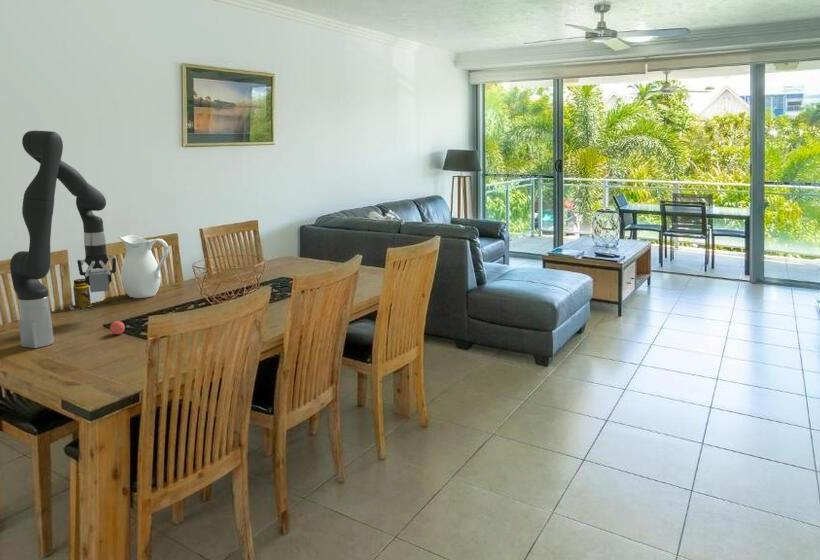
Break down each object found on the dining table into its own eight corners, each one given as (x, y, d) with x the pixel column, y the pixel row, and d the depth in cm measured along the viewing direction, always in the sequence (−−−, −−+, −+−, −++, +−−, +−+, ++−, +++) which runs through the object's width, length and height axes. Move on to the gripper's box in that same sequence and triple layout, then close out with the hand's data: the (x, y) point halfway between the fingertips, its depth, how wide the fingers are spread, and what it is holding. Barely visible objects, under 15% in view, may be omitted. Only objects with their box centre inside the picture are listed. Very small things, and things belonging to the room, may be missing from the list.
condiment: (92, 307, 270) (90, 280, 267) (70, 310, 265) (67, 282, 263) (90, 303, 276) (87, 277, 273) (69, 306, 271) (65, 279, 269)
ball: (118, 336, 231) (117, 323, 229) (107, 335, 232) (106, 322, 231) (128, 332, 235) (127, 320, 234) (117, 331, 237) (116, 319, 235)
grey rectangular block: (109, 290, 247) (107, 273, 245) (90, 292, 244) (89, 274, 242) (107, 285, 256) (105, 268, 254) (89, 286, 253) (87, 269, 251)
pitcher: (114, 298, 285) (108, 238, 279) (140, 290, 301) (135, 233, 295) (158, 302, 279) (153, 241, 272) (182, 294, 294) (178, 235, 288)
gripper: (74, 245, 239) (79, 288, 243) (115, 243, 246) (119, 284, 250) (74, 243, 246) (78, 284, 249) (114, 240, 252) (117, 280, 256)
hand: (99, 284), depth 249 cm, fingers closed on grey rectangular block, 6 cm apart
